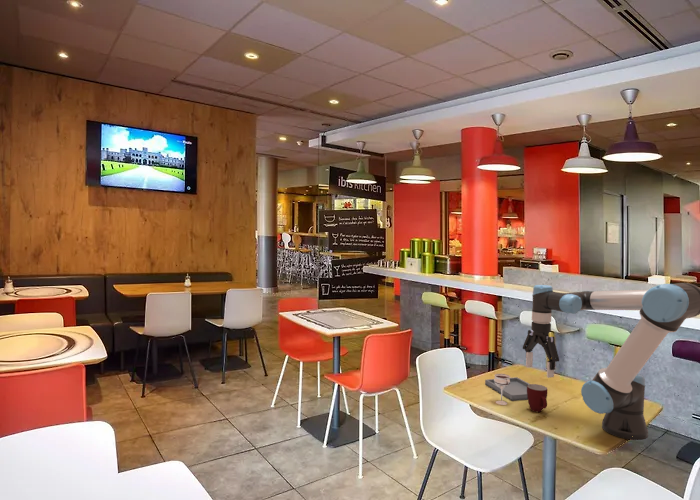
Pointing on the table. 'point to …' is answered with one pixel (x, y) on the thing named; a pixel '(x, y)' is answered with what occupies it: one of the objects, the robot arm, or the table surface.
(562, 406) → the table surface
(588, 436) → the table surface
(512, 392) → the tray
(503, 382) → the wineglass
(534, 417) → the table surface
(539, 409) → the mug
